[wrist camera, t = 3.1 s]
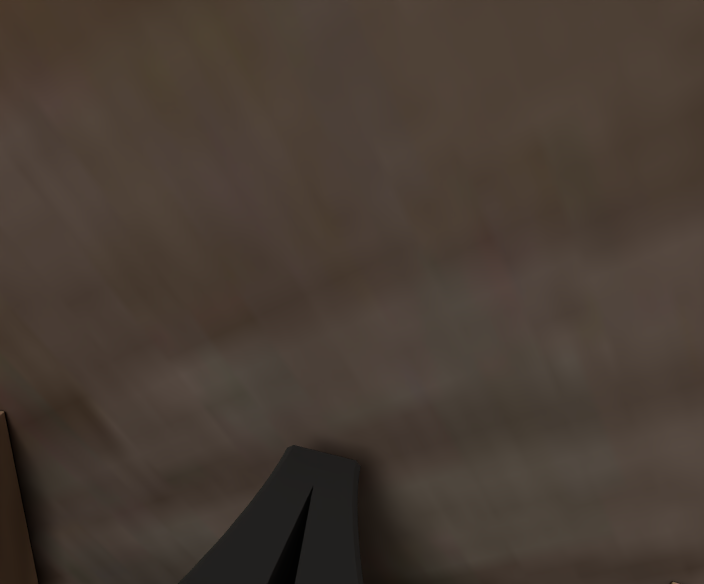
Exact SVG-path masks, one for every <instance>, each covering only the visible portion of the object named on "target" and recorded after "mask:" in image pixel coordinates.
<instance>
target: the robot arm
mask: <svg viewBox="0 0 704 584" xmlns="http://www.w3.org/2000/svg"><path fill="white" fill-rule="evenodd" d="M360 468H361V466H360V465H359V464H358V462H357V461H356V460H352V459H348V458H344V457H340V456H336V455H332V454H328V453H324V452H320V451H316V450H312V449H308V448H303V447H299V446H295V445H293V446H291V447H288V448H287V449H286V451H285V453H284V455H283V457H282V458H281V460H280V461H279V463H278V465H277V466H276V468H275V469H274V471H273V472H272V474H271V475H270V477H269V478H268V479H267V481H266V482H265V484H264V485H263V486H262V488H261V489H260V490H259V492H258V493H257V494H256V496H255V497H254V498H253V500H252V501H251V502H250V503H249V505H248V506H247V507H246V508H245V510H244V511H243V512H242V513H241V515H240V516H239V517H238V518H237V519H236V521H235V522H234V523H233V524H232V526H231V527H230V528H229V529H228V530H227V532H226V533H225V534H224V535H223V536H222V537H221V538H220V539H219V541H218V542H217V543H216V544H215V545H214V546H213V547H212V548H211V549H210V550H209V551H208V553H207V554H206V555H205V556H204V557H203V558H202V559H201V560H200V561H199V562H198V563H197V565H196V566H195V567H194V568H193V569H192V570H191V571H190V572H189V573H188V574H187V575H186V576H185V577H184V578H183V579H182V580H181V581H180V582H179V583H178V584H363V577H362V568H361V558H360V548H359V536H358V512H357V498H358V481H359V473H360Z"/></svg>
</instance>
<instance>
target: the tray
mask: <svg viewBox="0 0 704 584" xmlns="http://www.w3.org/2000/svg"><path fill="white" fill-rule="evenodd" d="M0 584H38V579H37V574H36V569H35V564H34V559H33V554H32V549H31V544H30V539H29V534H28V529H27V524H26V519H25V514H24V509H23V504H22V499H21V494H20V489H19V484H18V479H17V474H16V469H15V464H14V459H13V454H12V449H11V444H10V439H9V434H8V429H7V424H6V419H5V414H4V411H0ZM671 584H679V583H675V582H672V583H671Z"/></svg>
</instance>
